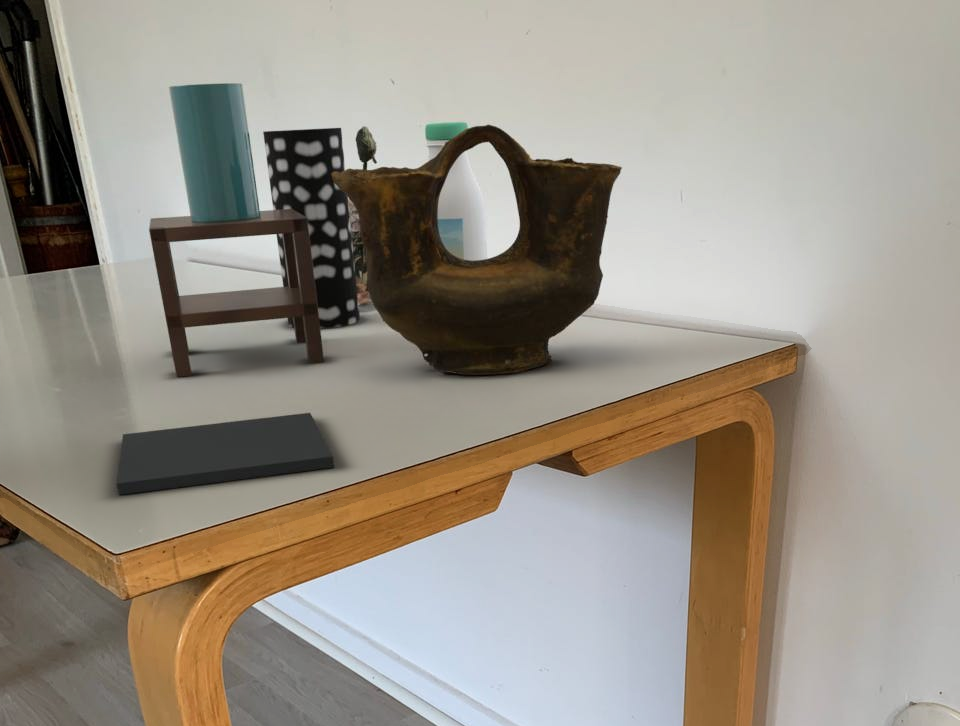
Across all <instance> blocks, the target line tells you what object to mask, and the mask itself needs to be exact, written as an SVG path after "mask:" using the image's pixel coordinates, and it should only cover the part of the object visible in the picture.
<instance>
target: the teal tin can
mask: <svg viewBox="0 0 960 726" xmlns="http://www.w3.org/2000/svg"><path fill="white" fill-rule="evenodd" d="M168 89H169V96H170V102H171V107H172V113H173V119H174V125H175V131H176V137H177V138H176V139H177V144H178V149H179V150H178V151H179V155H180V161H181V167H182V172H183V173H182V174H183V180H184V185H185V191H186V196H187V203H188V208H189V214H190V215H189V216H191V221H193V222H224V221H237V220H246V219H253V218H258V217H260V211H261V210H260V204H259V203H260V202H259V196H258V188H257V182H256V175H255V168H254V160H253V153H252V146H251V145H252V144H251V139H250V132H249V131H250V129H249V124H248V123H249V122H248V116H247V109H246V103H245V102H246V101H245V94H244V87H243V83H240V82H239V83H236V82H234V83H231V82H230V83H229V82H227V83H226V82H225V83H221V82H220V83H199V84H198V83H197V84H181V85H171V86H168Z"/></svg>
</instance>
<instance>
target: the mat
mask: <svg viewBox="0 0 960 726" xmlns="http://www.w3.org/2000/svg"><path fill="white" fill-rule="evenodd" d="M332 468H335V460H334V455H333V453H332V452H331V450H330V448H329V446H328V444H327V442H326V441H325V438H324V436H323V434H322V432H321V431H320V428H319V427H318V425H317V423H316V421H315V418H314V417H313V415H312V413H311V412H302V413H296V414H287V415H285V414H284V415H278V416H270V417H268V416H267V417H261V418H252V419H244V420H243V419H242V420H235V421H234V420H233V421H226V422H216V423H210V424H199V425H192V426H183V427H175V428H165V429H157V430H148V431H140V432H130V433H123V434H122V440H121V448H120V454H119V462H118V470H117V477H116V489H117V494H118V495H119V496H123V495H130V494H138V493H145V492H153V491H161V490H162V491H163V490H168V489H169V490H170V489H176V488H183V487H192V486H200V485H207V484H216V483H223V482H231V481H238V480H240V481H241V480H247V479H253V478H262V477H263V478H264V477H269V476H278V475H286V474H292V473H293V474H294V473H300V472H309V471H316V470H317V471H318V470H324V469H325V470H326V469H332Z"/></svg>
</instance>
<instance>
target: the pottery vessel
mask: <svg viewBox="0 0 960 726" xmlns="http://www.w3.org/2000/svg"><path fill="white" fill-rule="evenodd" d="M483 143H489V144H490V145H491V146H492V147H493V149H494V150H495V152H496V153H497V154H498V155H499V157H500V158H501V159H502V160H503V162H504V164H505V166H506V168H507V171H508V173H509V177H510V180H511V184H512V188H513V192H514V196H515V201H516V207H517V212H518V220H519V228H518V229H519V230H518V233H517V236H516V238H515V240H514V242H512V244H511V245H510V246H509V247H508V248H507V249H506V250H505V251H503V252H501V253H499V254H498V255H495V256H492V257H489V258H487V259H484V260H475V261H472V260H464V259H460V258H458V257H456V256H454V255H452V254H451V253H450V252H449V251H448V250H447V249H446V248H445V246H444V244H443V242H442V240H441V237H440V234H439V228H438V201H439V196H440V193H441V190H442V188H443V185H444V183H445V181H446V178H447V175H448V173H449V171H450V169H451V167H452V166H453V164H454V163H455V161H456V160H457V158H458V157H459V156H460V155H461V154H462V153H463V152H465V151H467V152H468V151H469V150H472V149H473V148H474V147H477V146H478V145H480V144H483ZM622 169H623V167H622V166H618V165H615V164H610V163H596V162H578V161H576V160H574V159H573V158H572V157H566V158H563V159H557V160H553V159H548V158H535V159H533V158H531V156H530V154H529V153H528V152H527V150H526V149H525V148H524V147H523V146H522V145H521V144H520V143H519V142H518V141H516V139H514V138H513V137H512V136H511V135H510V134H509V133H507V132H506V131H505V130H503V129H502V128H500V127H498V126H495V125H492V124H490V123H489V124H486V125H475V126H471V127H468V129H465V130H464V131H462V132H461V133H459V134H458V135H457V136H455V137H454V138H452V139H451V140H449V141H448V142H446V143H445V146H444V147H443V148H442V150H441V151H440V152H439V153H438V155H437V156H436V157H435V158H433V159H431V160H430V161H428V160H427V161H426V162H425V163H424V164H422V165H421V166H419V167H417V168H410V167H407V166H404V167H395V166H394V167H393V166H391V167H388V166H380V167H377V168H375V169H367V170H363V168H347V169H345V171H343V172H341V173H340V172H333V173H331V175H332V178H333V181H334V183H335V184H336V185H337V186H338V187H339V189H340V190H341V191H342V192H344V193H345V194H346V195H347V196H348V199H350V201H351V202H352V203H353V204H354V206H355V208H356V209H357V212H358V215H359V223H360V236H361V238H362V242H363V244H364V245H365V249H366V256H367V280H366V287H367V289H368V292H369V294H370V297H371V301H370V302H371V303H372V305H373V307H374V308H375V310H376V311H377V313H378V315H379V316H380V318H381V319H382V321H383V322H384V323H385V324H386V325H387V326H388V327H389V328H390V329H391V330H393V331H394V332H397V333H398V334H399V335H401V336H402V338H403V339H405V340H406V341H408V342H410V343H412V344H413V345H415V346H416V347H417V348H418V349H419V351H420V353H421V354H422V357H423V360H424V361H425V362H426V363H428V364H429V366H432V368H434V370H437V371H440V372H445V373H446V372H447V373H448V372H449V373H454V374H456V375H466V376H467V375H468V376H482V375H483V376H486V375H502V374H510V373H511V374H512V373H518V372H524V371H528V370H531V369H534V368H537V367H538V368H539V367H542V366H544V365H545V364H550V363H551V362H552V360H553V359H552V355H551V353H550V351H549V341H550V339H552V338H553V337H556V336H557V335H559V334H561V332H563V331H565V330H566V329H567V327H569V326H570V325H571V324H572V323H574V322H575V321H576V320H577V319H578V318H579V317H581V316H582V315H583V314H584V313H585V312H587V311H588V310H589V309H590V308H591V307H593V306H594V304H595V302H596V300H597V299H598V298H599V294H600V289H601V285H602V281H603V278H604V274H603V272H602V268H601V263H600V260H601V255H602V251H603V250H602V249H603V243H604V237H605V232H606V227H607V224H608V217H609V216H608V214H609V207H610V201H611V195H612V192H613V187H614V184H615V182H616V180H618V177H619V176H620V174H621V173H622Z"/></svg>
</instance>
